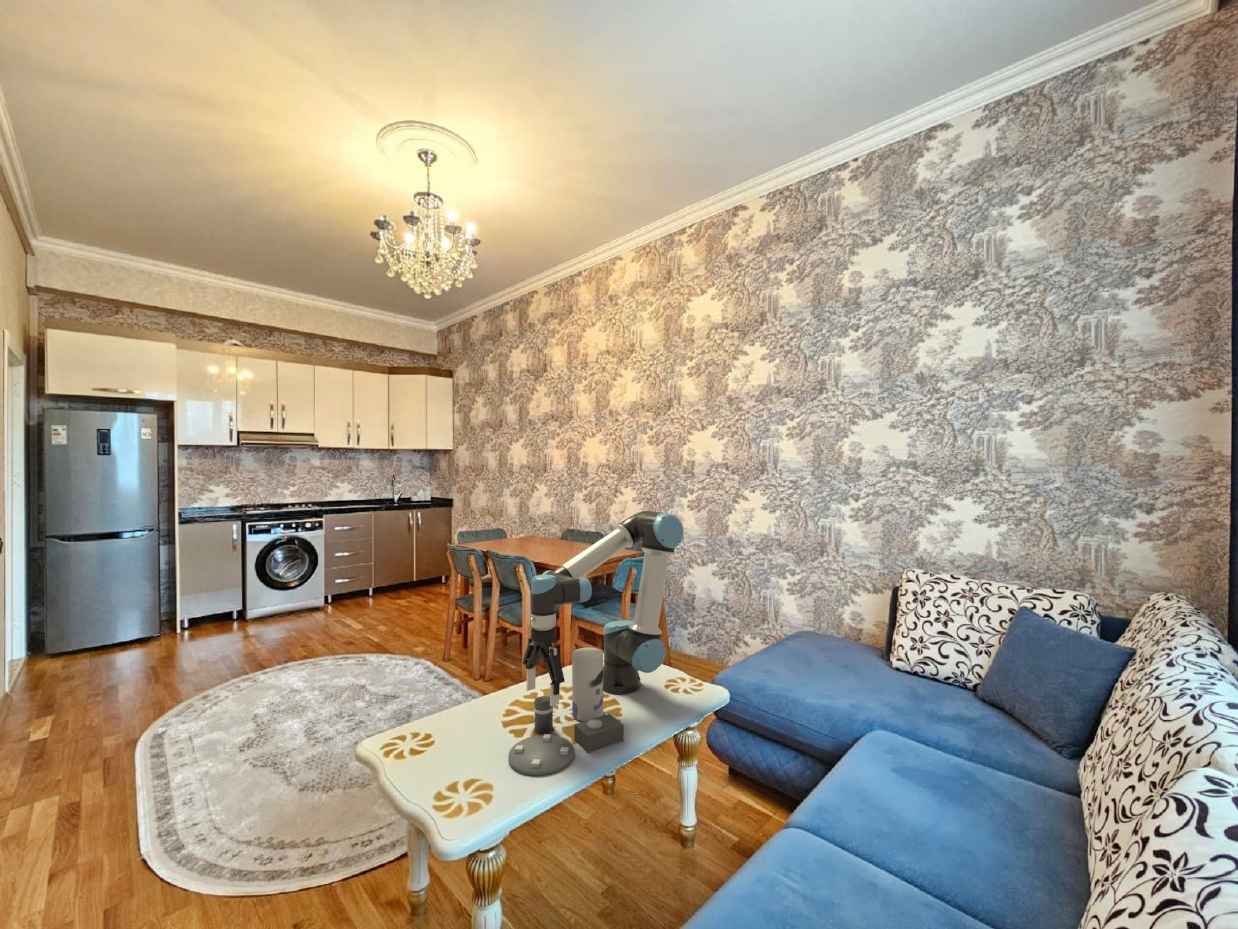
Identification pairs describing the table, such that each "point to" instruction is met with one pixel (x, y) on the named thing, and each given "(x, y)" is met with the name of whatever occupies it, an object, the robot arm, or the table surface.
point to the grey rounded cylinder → (543, 715)
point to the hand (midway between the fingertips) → (542, 697)
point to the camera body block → (599, 733)
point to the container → (587, 683)
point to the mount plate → (541, 755)
